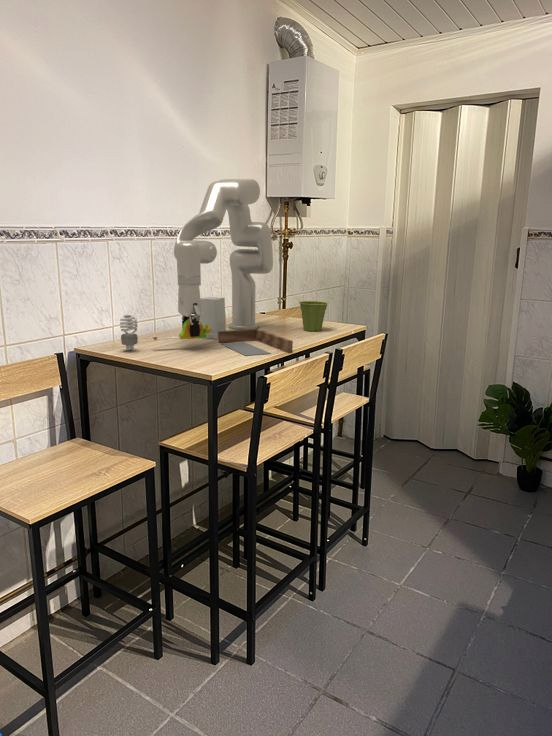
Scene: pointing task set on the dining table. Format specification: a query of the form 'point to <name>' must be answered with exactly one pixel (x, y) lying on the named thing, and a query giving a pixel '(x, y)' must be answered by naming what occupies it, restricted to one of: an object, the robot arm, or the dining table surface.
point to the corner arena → (256, 338)
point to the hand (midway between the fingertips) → (191, 333)
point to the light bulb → (132, 337)
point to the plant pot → (313, 314)
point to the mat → (245, 348)
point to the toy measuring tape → (186, 331)
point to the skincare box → (213, 315)
